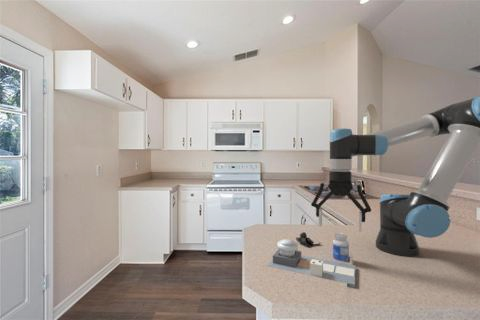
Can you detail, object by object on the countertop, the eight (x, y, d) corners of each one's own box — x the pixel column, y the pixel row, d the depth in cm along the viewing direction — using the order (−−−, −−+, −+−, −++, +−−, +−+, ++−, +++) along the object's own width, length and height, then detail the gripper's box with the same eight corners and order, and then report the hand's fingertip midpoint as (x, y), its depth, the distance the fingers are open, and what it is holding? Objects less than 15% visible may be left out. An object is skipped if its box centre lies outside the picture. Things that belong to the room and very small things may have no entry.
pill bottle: (330, 257, 89) (330, 232, 89) (343, 257, 90) (343, 231, 90) (337, 264, 84) (337, 236, 84) (351, 263, 84) (351, 236, 84)
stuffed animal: (326, 245, 100) (307, 232, 96) (315, 266, 98) (295, 253, 94) (309, 237, 111) (291, 224, 107) (299, 255, 109) (280, 243, 105)
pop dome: (299, 254, 86) (299, 240, 86) (294, 261, 80) (294, 246, 80) (280, 251, 89) (280, 237, 89) (274, 257, 83) (274, 242, 83)
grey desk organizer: (355, 268, 80) (355, 254, 80) (354, 288, 68) (354, 271, 68) (279, 254, 93) (279, 242, 93) (267, 268, 80) (267, 255, 80)
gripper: (378, 171, 84) (377, 230, 84) (307, 169, 96) (307, 221, 96) (380, 172, 78) (379, 236, 78) (304, 170, 89) (303, 225, 89)
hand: (339, 228), depth 87 cm, fingers open, 13 cm apart
